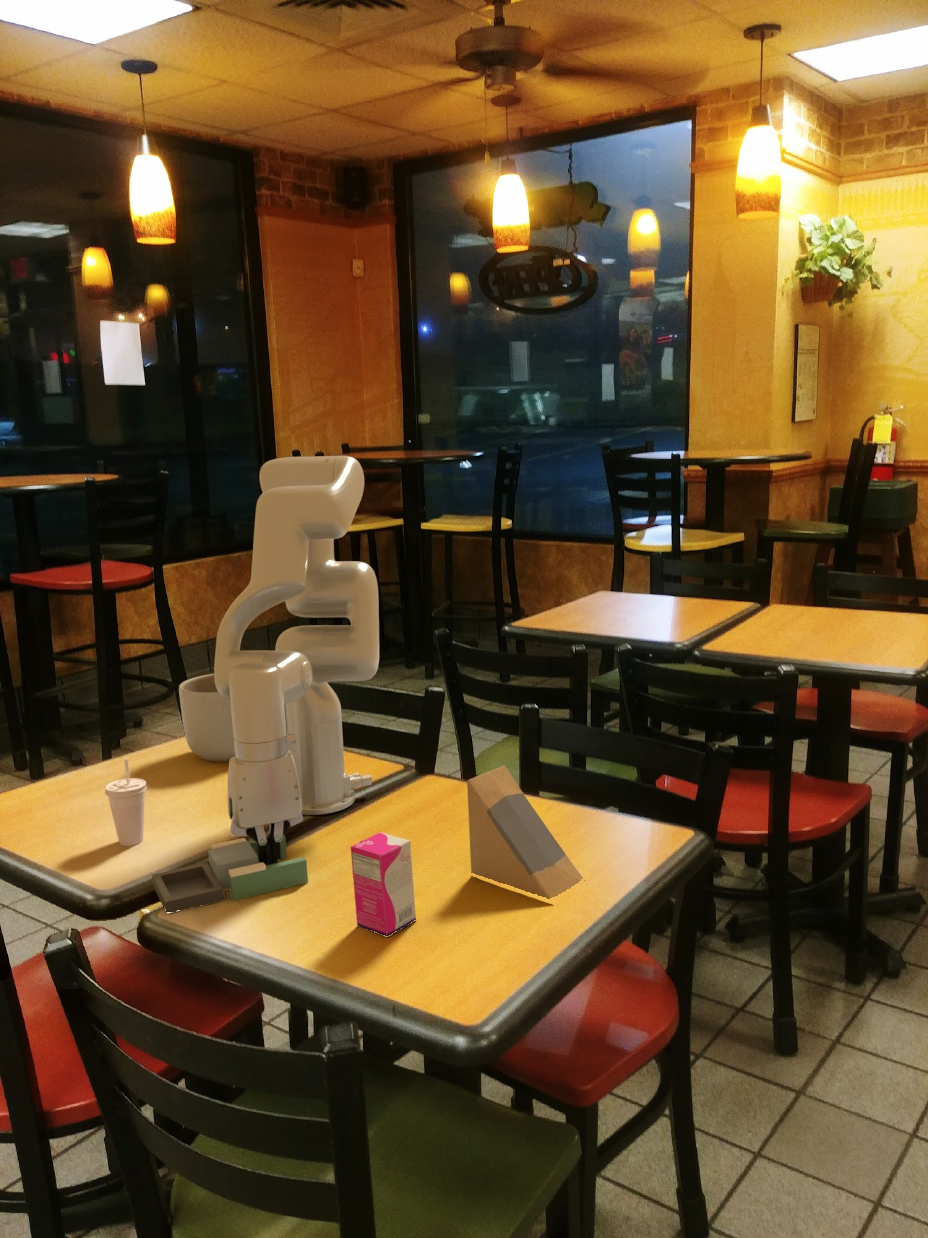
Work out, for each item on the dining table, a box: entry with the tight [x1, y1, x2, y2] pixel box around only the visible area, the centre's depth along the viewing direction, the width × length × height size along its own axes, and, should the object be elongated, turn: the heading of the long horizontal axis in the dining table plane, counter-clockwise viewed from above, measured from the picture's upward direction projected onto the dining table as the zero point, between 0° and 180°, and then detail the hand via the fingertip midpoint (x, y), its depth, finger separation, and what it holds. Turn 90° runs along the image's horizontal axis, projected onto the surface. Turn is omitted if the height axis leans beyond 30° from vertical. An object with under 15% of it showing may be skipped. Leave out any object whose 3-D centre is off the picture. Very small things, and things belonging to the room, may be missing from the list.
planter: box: [178, 673, 235, 763], centre depth 207 cm, size 17×17×15 cm
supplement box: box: [350, 832, 417, 936], centre depth 134 cm, size 6×6×12 cm
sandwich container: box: [466, 765, 584, 899], centre depth 145 cm, size 9×15×15 cm, turn 49°
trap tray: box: [151, 862, 226, 913], centre depth 146 cm, size 8×10×2 cm
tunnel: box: [210, 834, 309, 901], centre depth 151 cm, size 11×12×4 cm
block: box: [207, 842, 259, 891], centre depth 150 cm, size 6×6×4 cm
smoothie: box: [104, 758, 147, 847], centre depth 164 cm, size 6×6×14 cm
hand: (270, 865), depth 152 cm, fingers closed
